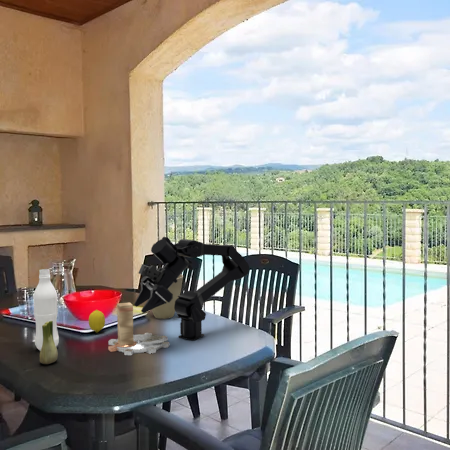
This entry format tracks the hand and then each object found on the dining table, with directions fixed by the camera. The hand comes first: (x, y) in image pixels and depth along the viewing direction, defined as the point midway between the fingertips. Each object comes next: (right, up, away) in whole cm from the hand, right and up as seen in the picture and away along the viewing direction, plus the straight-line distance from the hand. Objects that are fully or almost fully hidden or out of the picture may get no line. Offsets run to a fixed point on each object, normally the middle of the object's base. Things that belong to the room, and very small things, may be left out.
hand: (138, 308), depth 166 cm
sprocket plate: (0, -12, +2) cm, 12 cm away
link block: (-4, -11, -1) cm, 11 cm away
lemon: (-17, -11, +16) cm, 26 cm away
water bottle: (-28, -13, -1) cm, 31 cm away
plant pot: (+4, -9, +37) cm, 38 cm away
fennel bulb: (-24, -14, -14) cm, 31 cm away
